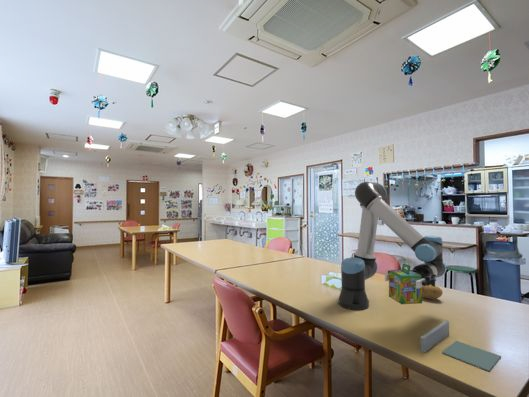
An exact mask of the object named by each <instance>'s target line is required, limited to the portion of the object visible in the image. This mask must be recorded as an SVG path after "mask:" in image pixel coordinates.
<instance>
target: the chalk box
mask: <svg viewBox="0 0 529 397" xmlns="http://www.w3.org/2000/svg"><path fill="white" fill-rule="evenodd" d="M411 266H412V265H410V264H406V263H402V267H401V269H402V270H401V269H391V270H388V271H389V281H388V297H389V298H390V299H392V300H393V301H395V302H397V303H398V304H400V305H410V304H411V305H412V304H413V305H417V304H423V297H422V287H421V288H418V289H417V288H416V281H418V280H420V279H422V276H421V275H420V274H418V273H415V272H413V271H410V270H411V268H412V267H411ZM406 268H407V269H406ZM405 269H406V270H405Z"/></svg>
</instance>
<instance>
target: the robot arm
mask: <svg viewBox="0 0 529 397" xmlns="http://www.w3.org/2000/svg"><path fill="white" fill-rule="evenodd" d="M354 196H355V199H356V200H357V201H358V203H359V206H360V208H361V218H360V225H359V235H358V243H357V250H356V251H355V252H354V253H353V257H346V258H344V259H342V261H341V262H340V263H341V266H340V272H341V276H340V277H341V290H340V293H339V296H338V306H340V307H342V308H345V309H348V310H355V311H361V310H366V309H368V308H369V307H370V301H369V299H368V295H367V293H366V281H367V280H368V279H370V278H373V277H374V275H375V274H376V273H377V271H378V264H377V257H376V255H375V246H376V245H375V244H376V237H377V236H376V235H377V230H378V220H380V221H382V223H384V225H386V227H387V228H389V229H390V230H391V231H392V232H393V233H394V234H395V235H396V237H398V238H399V239H400V240H401V241H403V243H405V245H407V247H409V248H410V250H412V251H413V252H414V256H415V257H416V259H418V260H419V261H420V262H423V263H420V264H417V265H415V266H414V267H413V268H412V269H410V271H413V272H415V273H418V274H420V275H421V276H422V279H420V280H418V281H416V288H417V289H418V288H421V287H423V286H426V285H427V286H429V285H432V286H436V281H437V278H439V277H441V276H443V275H445V273H446V272H447V266H446V264H445V263H444V259H443V245H444V244H443V238H442V237H441V236H438V235H425V236H423V235H422V234H421V233H420V232H419V231H418V230H416V229H415V228H414V226H412V225H411V224H410V223H409V222H408V221H407V220H405V218H403V217H402V216H401V215H400V214H399V213H398V212H396V210H394V209H393V207H392V206H390V205H389V204H388V203H386V199H387V196H388V193H387V189H386V188H385V187H384V186H383V185H382V184H380V183H379V182H371V181H363V182H360V183H359V184H358V185H357V186H356V188H355V189H354ZM404 269H405V270H407V269H406V268H404ZM400 270H402V268H401V269H400ZM384 282H389V270H387V273H386V274H384Z"/></svg>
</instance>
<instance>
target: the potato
mask: <svg viewBox="0 0 529 397" xmlns="http://www.w3.org/2000/svg"><path fill="white" fill-rule="evenodd" d="M443 293H444V292H443V290H442V289H441V288H440V286H437V285H435V286H432V285H429V286H427V285H426V286H423V287H422V298H424V299H427V300H428V299H429V300H437V299H439V298H440V297H442V296H443Z"/></svg>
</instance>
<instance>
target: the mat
mask: <svg viewBox="0 0 529 397" xmlns="http://www.w3.org/2000/svg"><path fill="white" fill-rule="evenodd" d="M441 353H442V354H443V355H446V356H448V357H450V358H453V359H456V360H458V361H461V362H463V363H466V364H469V365H471V366H473V365H474V367H476V366H477V367H476V368H478V367H479V368H478V369H482V370H483V369H484V371H486V372H488V371H490V372H491V370H492V369H493V368H494V367H495V365H497V363H498V362H499V361H500V359H501V357H502V356H501V355H499V354H497V353H494V352H491V351H488V350H485V349H481V348H479V347H476V346H474V345H470V344H467V343H464V342H461V341H459V340H455V341H454V342H453V343H451V345H449V346H448V347H447V348H445V349H444V350H443V351H442V352H441Z"/></svg>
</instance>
